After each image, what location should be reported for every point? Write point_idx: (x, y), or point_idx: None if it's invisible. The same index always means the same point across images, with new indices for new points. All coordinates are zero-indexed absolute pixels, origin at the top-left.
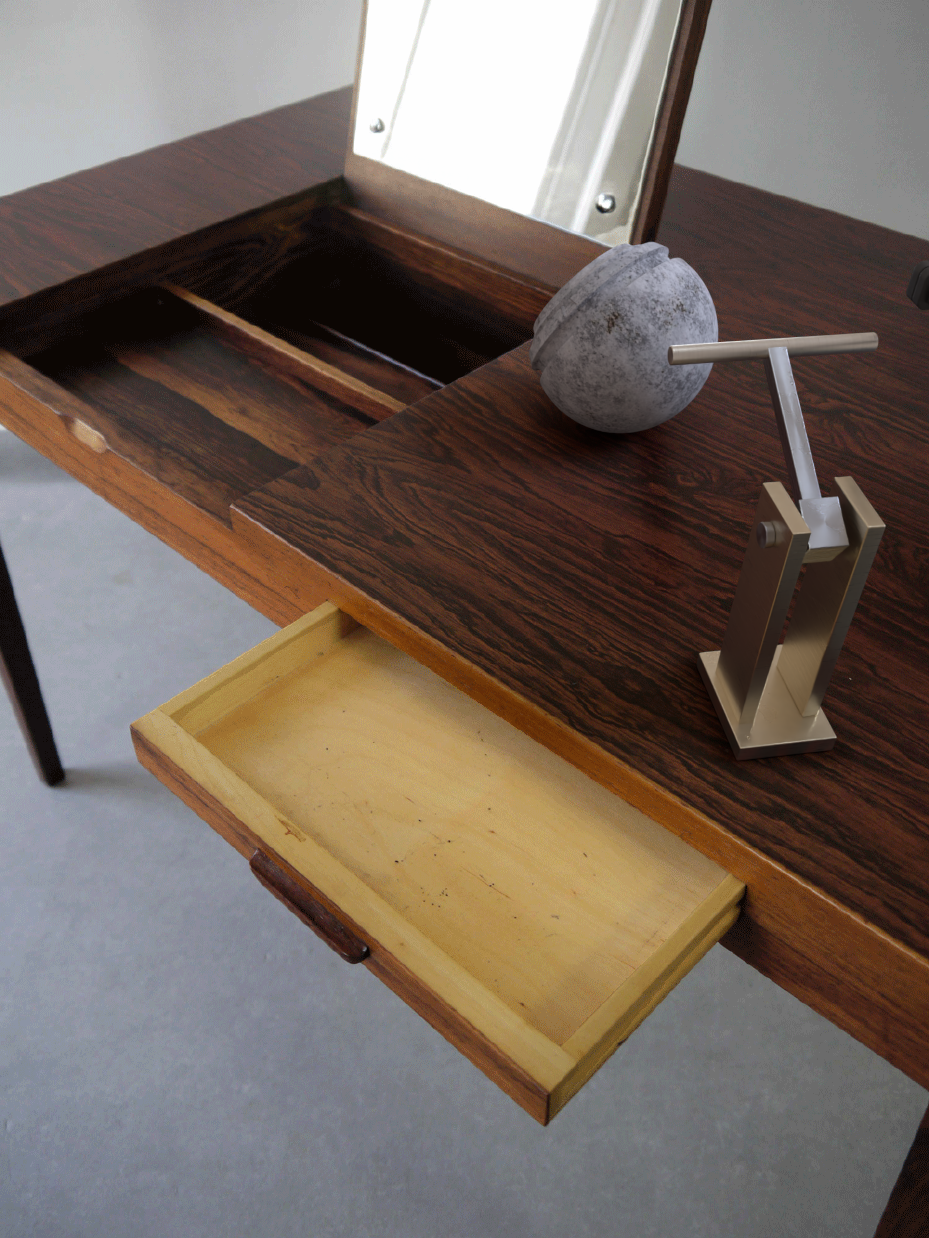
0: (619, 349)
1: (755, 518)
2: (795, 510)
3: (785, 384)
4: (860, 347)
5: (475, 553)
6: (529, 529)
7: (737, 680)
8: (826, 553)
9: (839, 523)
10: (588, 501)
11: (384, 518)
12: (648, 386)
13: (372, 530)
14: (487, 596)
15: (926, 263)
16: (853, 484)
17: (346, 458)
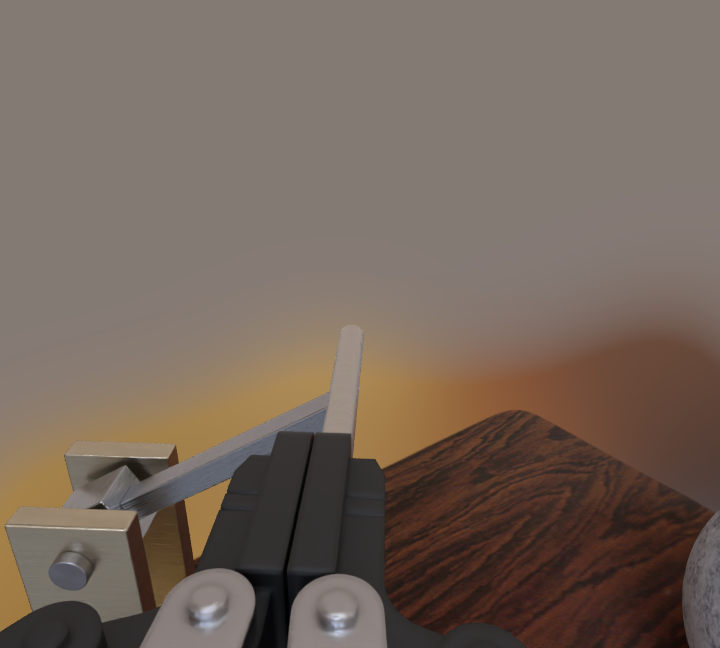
0: (714, 547)
1: None
2: (108, 453)
3: (274, 422)
4: None
5: (460, 521)
6: (501, 571)
7: None
8: None
9: None
10: (566, 644)
11: (511, 470)
12: (705, 632)
13: (493, 462)
14: (397, 520)
15: (330, 434)
16: (106, 524)
17: (600, 456)
